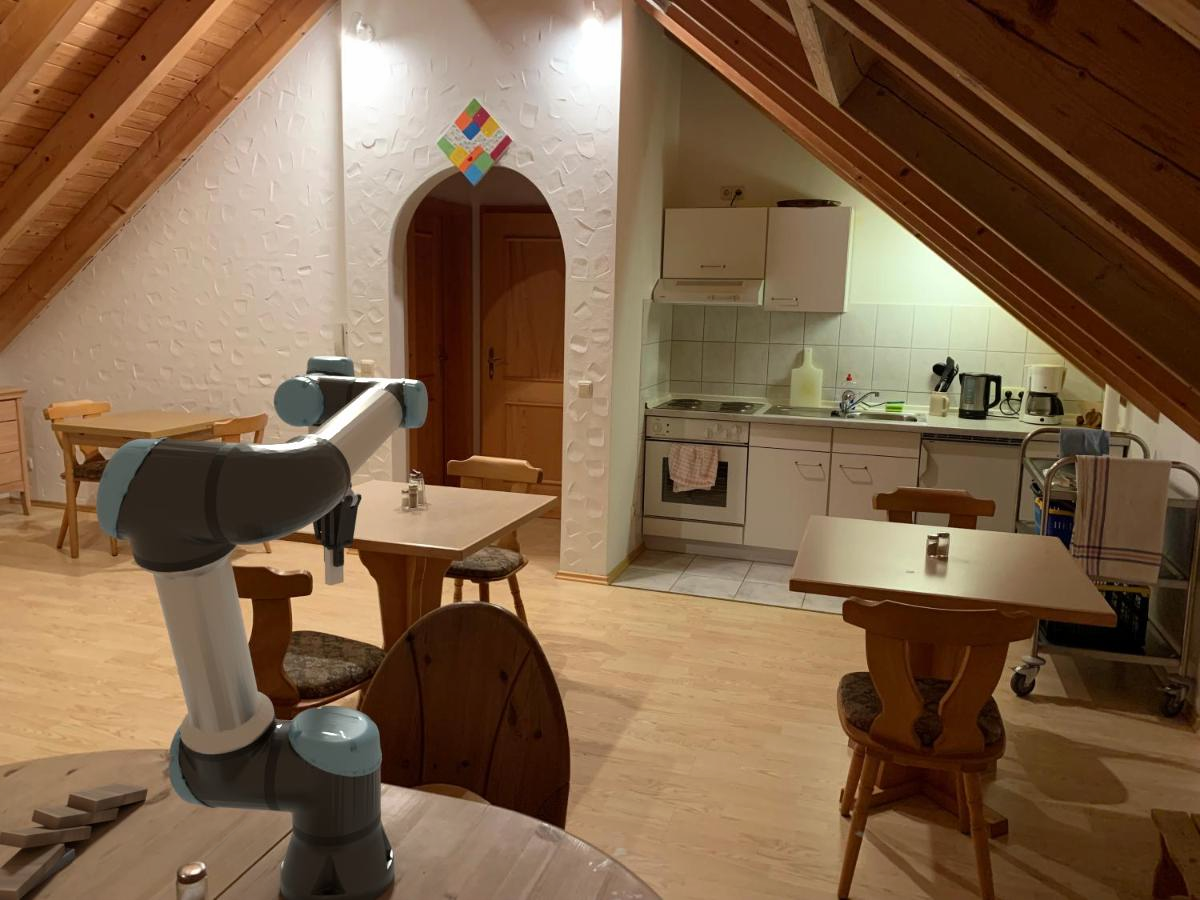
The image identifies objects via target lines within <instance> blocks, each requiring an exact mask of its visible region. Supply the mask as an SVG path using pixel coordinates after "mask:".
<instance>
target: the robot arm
mask: <svg viewBox="0 0 1200 900" xmlns="http://www.w3.org/2000/svg"><path fill="white" fill-rule="evenodd" d="M354 365H355V363H354V362H353V360H352V359H351V358H349V357H346V356H335V355H334V356H330V355H323V356H322V355H321V356H319V355H318V356H312V357H310V358H309V359H308V361H307V365H306V372H305V374H302V375H294V376H291V378H289V379H287V380H285V381H283V382H282V383H280V385H278V387H277V389H276V391H275V393H274V395H273V396H274V397H273V407H274V409H275V413H276V414H277V416H278V417H279V418H280V419H281V421H282V422H284V423H285V424H287V425H289V426H291V427H296V428H301V427H302V428H303V427H307V428H308V429H307V430H308V431H307V434H301V435H297V436H294V437H291V438H290V439H288V440H286V441H285V442H282V443H281V442H280V443H255V442H254V443H253V442H233V441H232V442H229V441H226V442H225V441H208V440H207V441H205V440H204V441H203V440H188V439H187V440H184V439H183V440H182V439H172V438H170V437H168V436H167V437H161V438H138V439H133V440H130V441H128V442H126V443H125V444H123V445H121V446H120V447H119V448H117V450H116V451H115V452H114V453H113V455H112V456H111V457H110V459H109V460H108V462H107V463H106V465H105V468H104V469H103V471H102V476H101V478H100V481H99V483H98V488H97V493H96V500H95V501H96V502H95V508H96V516H97V520H98V521H97V522H98V524H99V527H100V529H101V530H102V532H104V533H105V535H106V536H107V535H108V536H110V537H111V538H114V539H116V540H120V541H121V540H122V541H123V540H128V541H129V544H130V549H131V552H132V555H133V559H134V562H135V565H137V566H138V568H140V569H141V570H143V571H145V572H147V573H151V574H153V578H154V582H155V586H156V590H157V594H158V598H159V602H160V606H161V610H162V613H163V617H164V622H165V625H166V630H167V633H168V637H169V642H170V644H171V645H170V646H171V649H172V653H173V657H174V661H175V666H176V669H177V673H178V678H179V681H180V685H181V689H182V693H183V696H184V700H185V705H186V707H187V713H186V715H185V716H184V718H183V720H182V721H181V724H180V725H179V727H178V728H177V730H176V731H175V733H174V735H173V738H172V740H171V743H170V748H169V753H168V755H169V756H170V758H171V759H170V761H169V762H168V776H169V779H170V784H171V786H172V788H173V790H174V792H175V793H176V795H177V796H178V797H179V798H180V799H181V800H182V801H184V802H186V803H189V804H192V805H197V806H198V805H199V806H203V807H206V808H212V809H214V808H224V809H225V808H226V809H227V808H228V809H236V810H237V809H240V810H252V811H253V810H257V811H268V812H269V811H273V812H283V813H284V812H285V813H291V818H292V822H291V823H292V833H291V836H290V838H289V839H290V840H289V842H288V845H287V849H286V851H285V855H284V858H283V861H282V863H281V865H280V871H279V883H280V885H279V887H280V893H281V895H282V898H283V899H284V900H376V899H377V898H378V897H380V896H381V895H382V894H383V893H384V892H385V891H386V890H387V889H388V888H389V886H390V885H391V883H392V881H393V880H394V879H393V878H394V876H395V875H394V874H395V856H394V851H393V849H392V848H393V847H392V845H391V842H390V839H389V838H388V834H387V832H386V830H385V828H384V825H383V823H382V822H383V821H382V802H381V801H382V791H381V790H382V784H381V783H382V782H381V781H382V778H381V777H382V774H381V773H382V771H381V768H382V761H383V758H382V756H383V753H382V749H381V740H380V731H379V729H378V726H377V725H376V723H375V722H374V721H373V720H372V719H371V718H370V717H369V716H368V715H367V714H365V713H364V712H362V711H359V710H356V709H354V708H351V707H346V706H339V705H322V706H321V707H320V708H317V707H315V706H314V707H310V708H308V709H305V710H303V711H301V712H299V713H298V714H297V715H295V717H294V718H293V719H292V720H288V719H277V718H276V714H275V709H274V705H273V703H272V701H271V699H270V698H269V696H268V695H265V694H264V693H263V692H261V691H258V687H257V681H256V677H255V672H254V667H253V666H254V665H253V662H252V657H251V651H250V647H249V642H248V637H247V636H248V635H247V632H246V627H245V622H244V617H243V614H242V613H243V611H242V608H241V604H240V603H241V602H240V598H239V593H238V588H237V583H236V579H235V573H234V569H233V564H232V559H231V555H232V553H234V552H235V550H236V549H237V548H238V546H239V545H241V546H251V545H259V544H264V543H268V542H271V541H276V540H278V539H281V538H284V537H287V536H289V535H292V534H293V533H296V532H298V531H300V530H302V529H304V528H305V527H307V526H309V525H311V524H312V525H313V532H314V538H315V540H316V541H320V542H321V545H322V546H323V561H324V583H325V585H328V586H335V585H338V584H341V583H342V584H343V583H344V582H345V581H344V576H345V575H344V565H345V549H346V547H349V546H352V545H353V544H354V542H353V541H354V535H355V529H356V524H357V522H356V521H357V515H358V510H359V509H358V508H359V506H360V504H361V501H362V494H361V493H355V492H354V490H353V489H352V487H353V485H352V477H353V476H354V475H355V474H356V472H358V471H359V470H360V468H361V467H363V466H364V464H365V463H366V462H367V461H368V460H369V459H370V458H371V457H372V456H373V454H374V453H376V451H377V450H378V449H379V448H380V447H382V445H383V444H384V443H385V442H386V441H387V440H388V439H389V438H390V437H391V436H392V435H393V434H394V433H395V431H397V430H398V429H399V428H400V429H404V430H407V429H415V428H416V429H418V428H422V427H423V425H424V424H425V422H426V418H427V416H428V410H429V409H428V407H429V406H428V405H429V399H428V397H429V396H428V392H427V388H426V385H425V384H424V382H423V381H421V380H416V379H409V378H404V377H400V378H393V377H392V378H387V377H364V376H363V377H362V376H361V377H360V376H355V366H354Z"/></svg>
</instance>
